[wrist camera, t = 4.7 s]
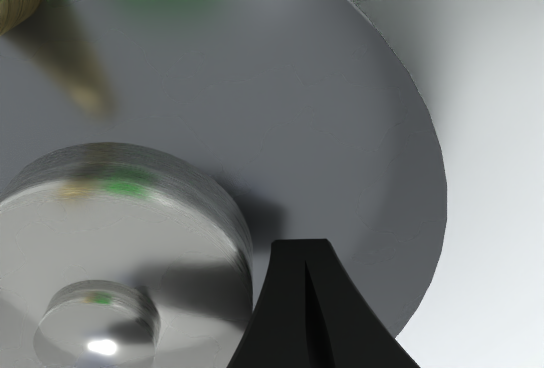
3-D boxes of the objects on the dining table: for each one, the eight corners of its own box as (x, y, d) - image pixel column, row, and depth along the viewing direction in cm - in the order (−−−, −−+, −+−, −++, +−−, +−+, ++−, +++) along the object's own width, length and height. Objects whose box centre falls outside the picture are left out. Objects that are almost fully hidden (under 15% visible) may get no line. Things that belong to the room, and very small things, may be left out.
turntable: (144, 444, 20) (111, 616, 15) (-305, 184, 12) (-625, 362, 8) (522, 257, 15) (641, 429, 10) (136, -354, 8) (-46, -692, 3)
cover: (125, 365, 15) (98, 466, 12) (-62, 232, 12) (-148, 329, 9) (301, 272, 13) (312, 369, 10) (130, 86, 10) (88, 159, 7)
